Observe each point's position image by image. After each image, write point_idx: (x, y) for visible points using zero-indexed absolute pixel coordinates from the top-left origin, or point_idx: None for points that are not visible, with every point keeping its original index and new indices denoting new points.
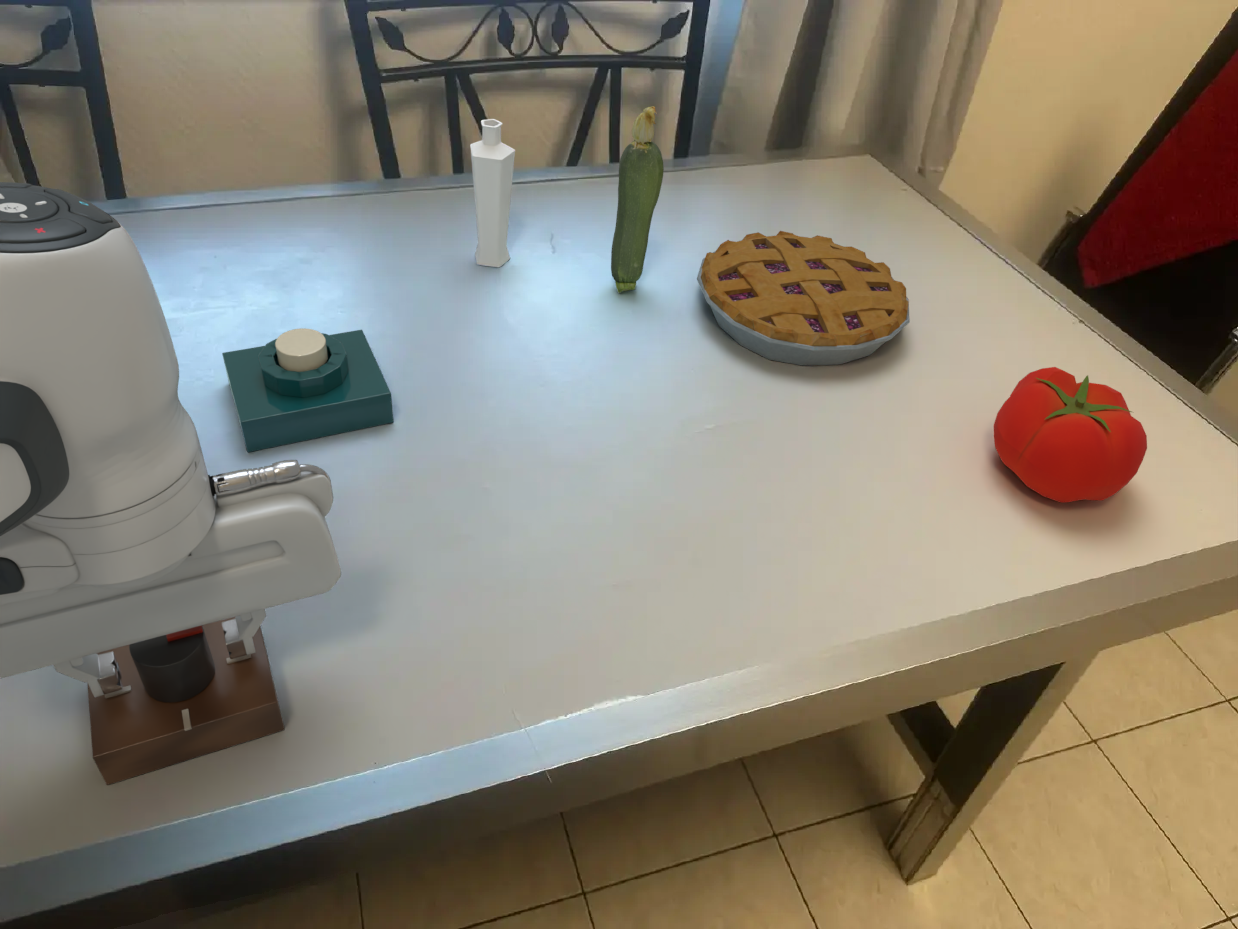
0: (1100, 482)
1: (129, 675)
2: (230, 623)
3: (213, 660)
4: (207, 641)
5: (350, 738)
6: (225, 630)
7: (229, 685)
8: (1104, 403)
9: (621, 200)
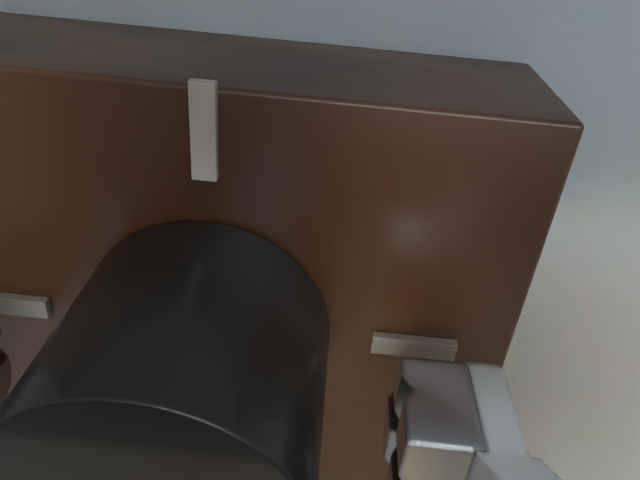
0: None
1: (38, 254)
2: (442, 459)
3: (328, 343)
4: (321, 436)
5: (559, 453)
6: (407, 477)
7: (352, 411)
8: None
9: None
